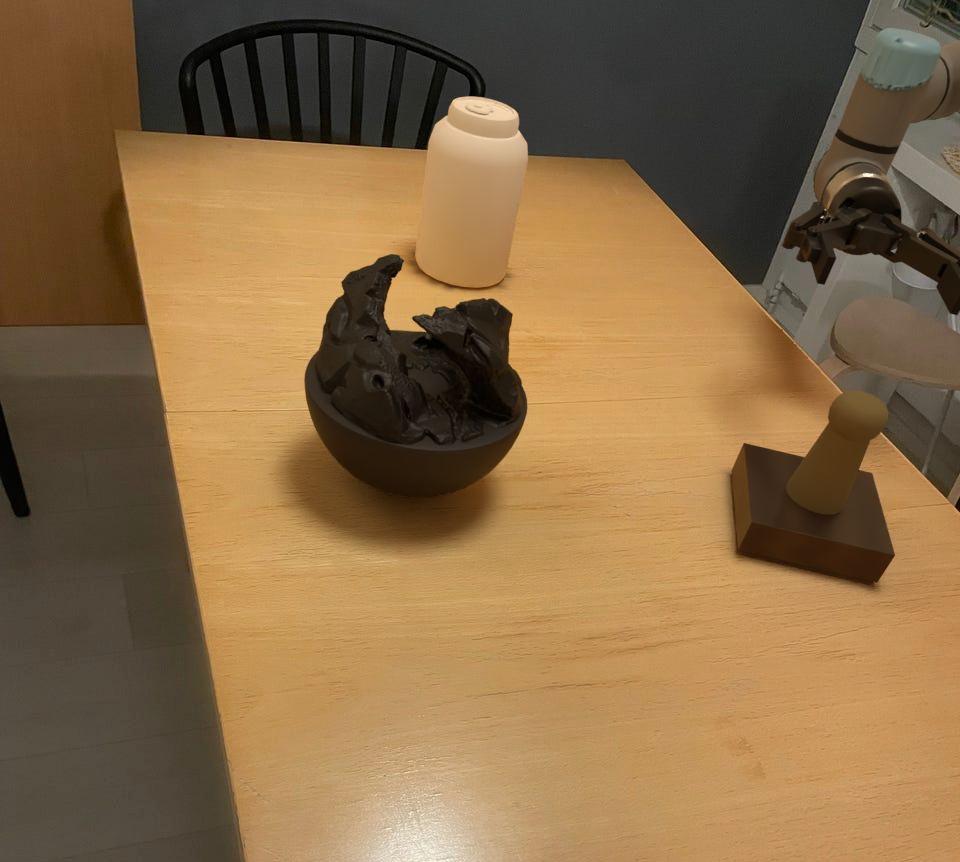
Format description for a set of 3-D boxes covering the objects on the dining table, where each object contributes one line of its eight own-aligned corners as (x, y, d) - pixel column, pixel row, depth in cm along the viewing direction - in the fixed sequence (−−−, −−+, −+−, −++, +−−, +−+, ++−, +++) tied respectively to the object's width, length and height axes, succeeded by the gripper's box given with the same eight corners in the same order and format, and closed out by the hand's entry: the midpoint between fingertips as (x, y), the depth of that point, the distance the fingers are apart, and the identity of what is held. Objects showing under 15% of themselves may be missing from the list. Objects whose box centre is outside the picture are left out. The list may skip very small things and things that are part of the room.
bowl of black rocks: (523, 548, 83) (572, 362, 70) (301, 539, 79) (309, 340, 66) (491, 425, 97) (527, 250, 84) (300, 412, 92) (306, 226, 79)
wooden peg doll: (774, 480, 91) (821, 383, 83) (820, 474, 93) (870, 379, 86) (810, 518, 87) (863, 419, 80) (857, 510, 90) (913, 415, 82)
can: (454, 297, 116) (480, 127, 102) (395, 255, 122) (412, 89, 108) (524, 281, 123) (557, 120, 109) (465, 242, 129) (490, 85, 115)
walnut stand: (855, 502, 98) (872, 472, 95) (875, 586, 88) (895, 555, 86) (729, 473, 98) (743, 442, 95) (736, 553, 88) (751, 521, 85)
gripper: (948, 266, 107) (995, 349, 92) (743, 219, 107) (756, 294, 92) (983, 201, 102) (1039, 277, 87) (767, 151, 101) (785, 219, 86)
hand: (893, 286), depth 89 cm, fingers open, 13 cm apart
